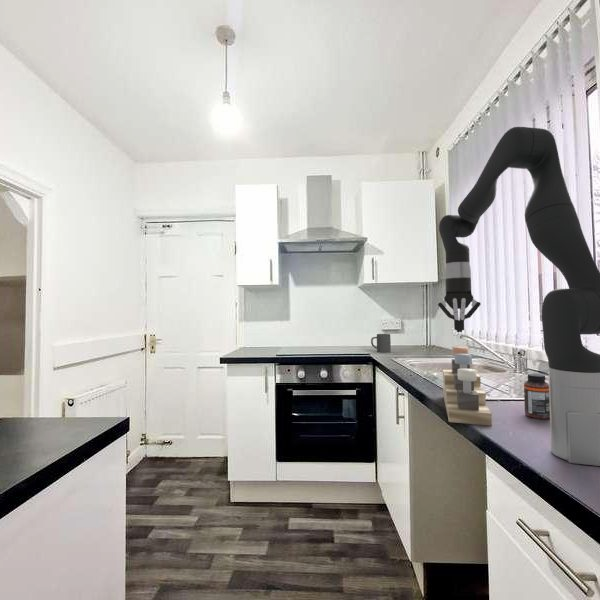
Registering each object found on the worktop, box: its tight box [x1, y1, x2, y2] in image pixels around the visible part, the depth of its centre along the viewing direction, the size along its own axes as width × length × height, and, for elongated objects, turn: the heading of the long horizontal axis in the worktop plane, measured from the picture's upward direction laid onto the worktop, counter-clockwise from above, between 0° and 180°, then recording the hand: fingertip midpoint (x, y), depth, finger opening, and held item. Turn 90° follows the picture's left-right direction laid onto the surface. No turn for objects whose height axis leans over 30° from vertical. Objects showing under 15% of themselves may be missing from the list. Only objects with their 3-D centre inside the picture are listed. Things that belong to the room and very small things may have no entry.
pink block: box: [451, 346, 469, 357], centre depth 115 cm, size 5×5×7 cm
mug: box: [370, 333, 392, 354], centre depth 247 cm, size 14×9×12 cm
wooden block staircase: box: [442, 358, 493, 426], centre depth 106 cm, size 28×10×13 cm, turn 161°
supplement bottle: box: [523, 372, 550, 420], centre depth 99 cm, size 6×6×11 cm
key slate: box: [454, 353, 473, 369], centre depth 106 cm, size 5×5×7 cm
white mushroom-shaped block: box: [457, 368, 477, 393], centre depth 98 cm, size 5×5×7 cm
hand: (459, 331), depth 115 cm, fingers closed
